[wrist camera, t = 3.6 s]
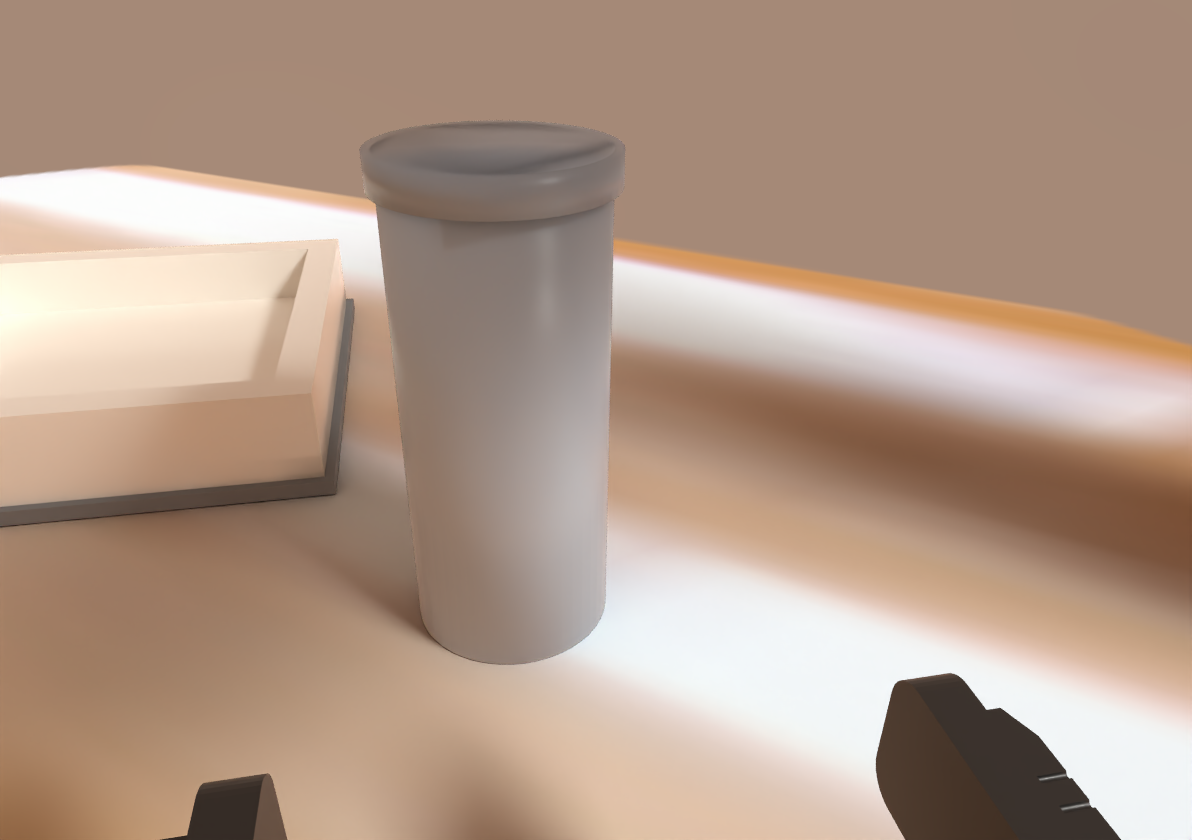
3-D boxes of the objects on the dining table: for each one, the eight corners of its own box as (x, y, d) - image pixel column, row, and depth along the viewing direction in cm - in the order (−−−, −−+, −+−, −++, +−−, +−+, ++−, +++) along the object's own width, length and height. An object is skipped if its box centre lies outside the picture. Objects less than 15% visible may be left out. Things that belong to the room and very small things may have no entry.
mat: (354, 308, 42) (353, 298, 42) (335, 493, 28) (333, 480, 28) (-18, 331, 39) (-22, 320, 39) (-239, 549, 25) (-246, 535, 25)
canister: (591, 529, 27) (596, 117, 21) (632, 654, 22) (654, 172, 16) (411, 548, 26) (363, 123, 20) (414, 684, 21) (354, 183, 15)
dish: (346, 301, 41) (338, 238, 40) (324, 476, 28) (310, 393, 27) (-17, 323, 39) (-40, 256, 37) (-228, 528, 26) (-276, 438, 24)
